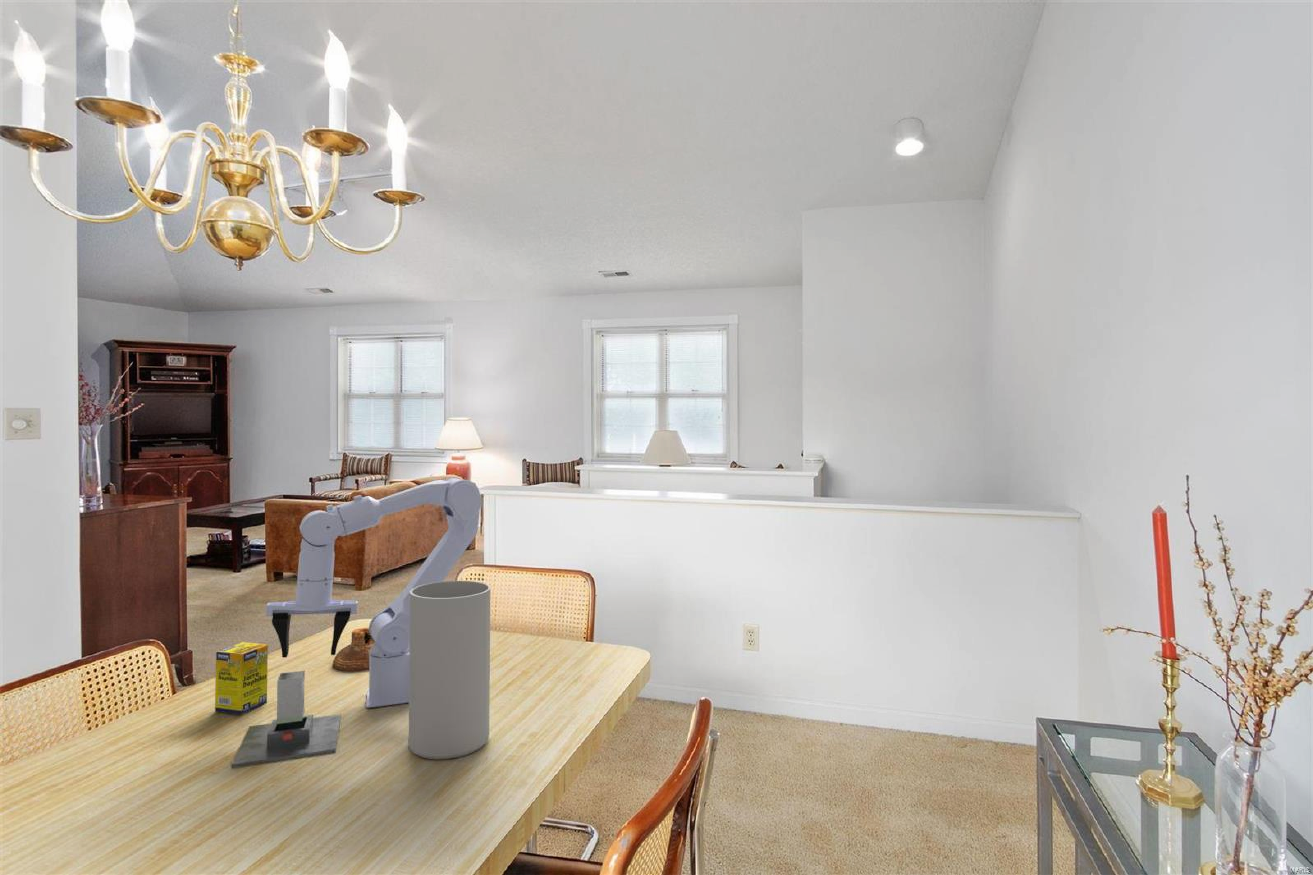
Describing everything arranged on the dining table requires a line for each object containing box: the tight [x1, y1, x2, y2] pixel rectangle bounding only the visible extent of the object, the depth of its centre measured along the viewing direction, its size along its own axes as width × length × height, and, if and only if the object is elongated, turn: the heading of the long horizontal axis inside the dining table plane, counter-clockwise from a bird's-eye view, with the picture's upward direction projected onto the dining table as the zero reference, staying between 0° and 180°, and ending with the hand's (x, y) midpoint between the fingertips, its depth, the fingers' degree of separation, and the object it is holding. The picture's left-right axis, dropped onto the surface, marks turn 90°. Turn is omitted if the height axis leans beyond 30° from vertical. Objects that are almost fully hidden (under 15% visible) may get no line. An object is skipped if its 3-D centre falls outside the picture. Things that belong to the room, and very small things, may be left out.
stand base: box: [231, 713, 342, 768], centre depth 109 cm, size 14×14×3 cm
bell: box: [332, 627, 375, 672], centre depth 147 cm, size 12×12×7 cm
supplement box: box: [214, 641, 269, 716], centre depth 122 cm, size 6×6×11 cm
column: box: [276, 670, 306, 724], centre depth 109 cm, size 4×4×7 cm
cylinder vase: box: [408, 580, 491, 760], centre depth 109 cm, size 12×12×25 cm
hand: (309, 654), depth 120 cm, fingers open, 7 cm apart
